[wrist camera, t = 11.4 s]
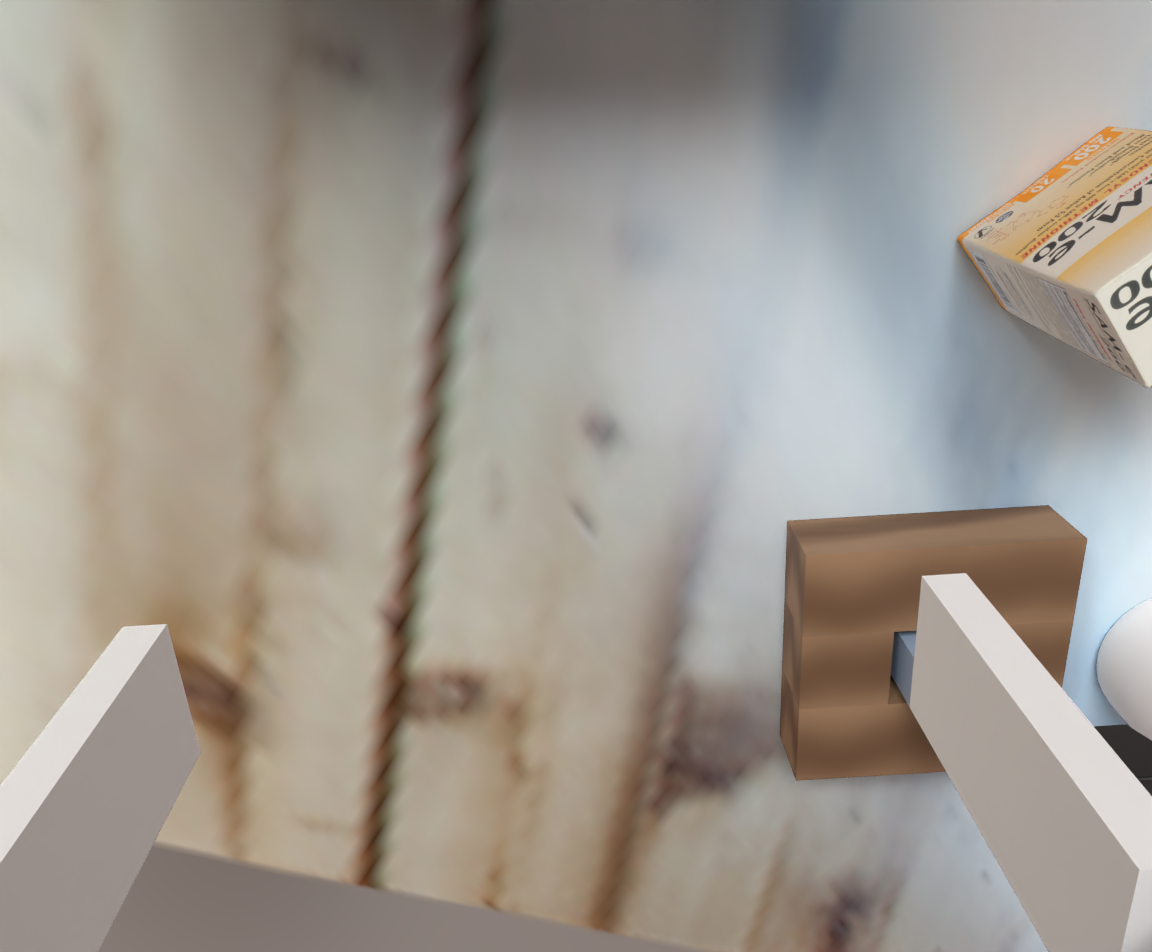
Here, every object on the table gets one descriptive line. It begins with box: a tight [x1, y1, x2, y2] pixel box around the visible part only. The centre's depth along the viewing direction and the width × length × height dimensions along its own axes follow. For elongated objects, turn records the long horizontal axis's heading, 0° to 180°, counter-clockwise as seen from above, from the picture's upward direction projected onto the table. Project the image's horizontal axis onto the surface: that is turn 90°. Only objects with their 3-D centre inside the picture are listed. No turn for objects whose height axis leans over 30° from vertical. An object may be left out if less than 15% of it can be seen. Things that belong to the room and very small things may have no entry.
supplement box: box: [957, 127, 1152, 388], centre depth 39 cm, size 8×5×13 cm, turn 129°
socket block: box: [780, 505, 1087, 780], centre depth 52 cm, size 14×14×4 cm
